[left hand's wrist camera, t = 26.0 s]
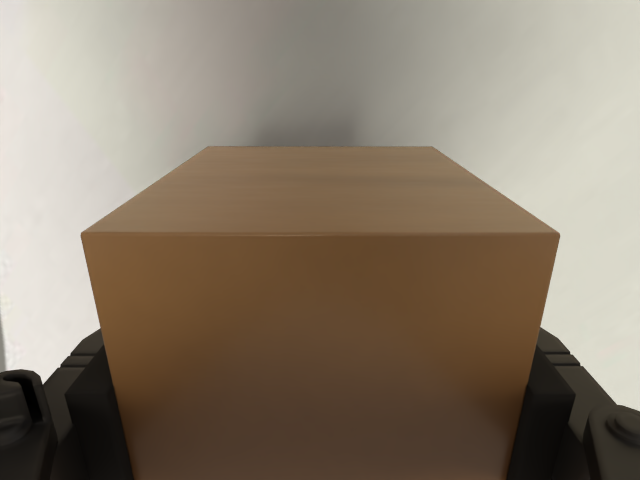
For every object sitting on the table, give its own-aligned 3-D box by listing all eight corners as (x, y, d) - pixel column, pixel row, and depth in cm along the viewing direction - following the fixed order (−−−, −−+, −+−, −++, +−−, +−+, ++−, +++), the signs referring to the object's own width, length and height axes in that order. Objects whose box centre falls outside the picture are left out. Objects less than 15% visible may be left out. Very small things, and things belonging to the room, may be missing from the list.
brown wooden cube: (207, 146, 14) (78, 232, 7) (433, 146, 14) (561, 232, 7) (227, 363, 18) (156, 589, 10) (412, 363, 18) (483, 590, 10)
